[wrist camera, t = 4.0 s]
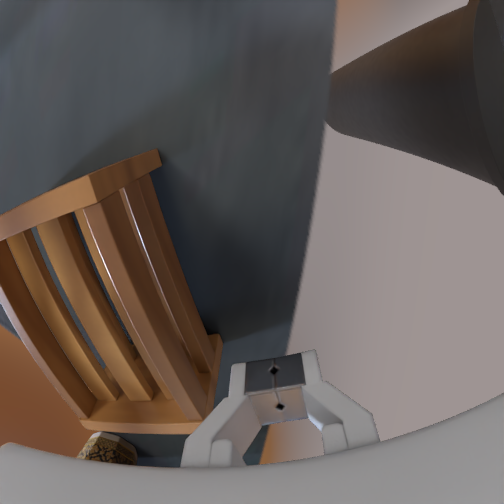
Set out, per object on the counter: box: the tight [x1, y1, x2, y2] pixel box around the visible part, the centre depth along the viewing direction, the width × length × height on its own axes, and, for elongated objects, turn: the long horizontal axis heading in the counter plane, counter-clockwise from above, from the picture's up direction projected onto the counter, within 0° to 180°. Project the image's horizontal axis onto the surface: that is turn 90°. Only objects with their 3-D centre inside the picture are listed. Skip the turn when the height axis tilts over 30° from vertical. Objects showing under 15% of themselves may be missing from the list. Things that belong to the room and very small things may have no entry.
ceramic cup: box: [77, 431, 137, 466], centre depth 30 cm, size 13×10×10 cm
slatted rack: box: [0, 149, 223, 434], centre depth 19 cm, size 10×16×9 cm, turn 14°
